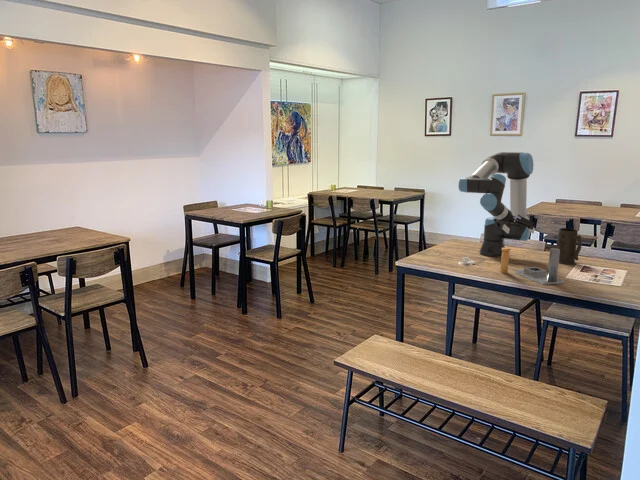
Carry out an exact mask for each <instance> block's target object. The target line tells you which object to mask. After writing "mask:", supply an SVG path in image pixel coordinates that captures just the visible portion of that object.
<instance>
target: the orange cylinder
mask: <svg viewBox="0 0 640 480" xmlns="http://www.w3.org/2000/svg"><path fill="white" fill-rule="evenodd" d="M501 250H502V256H501V257H500V258H501V260H500V273H501V274H508V273H509V272H508V271H509V259H510V252H511V248H510V247H505V248H502V249H501Z"/></svg>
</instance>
